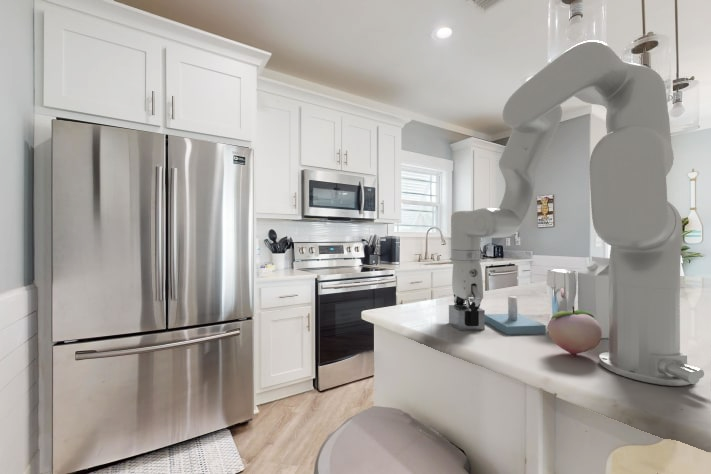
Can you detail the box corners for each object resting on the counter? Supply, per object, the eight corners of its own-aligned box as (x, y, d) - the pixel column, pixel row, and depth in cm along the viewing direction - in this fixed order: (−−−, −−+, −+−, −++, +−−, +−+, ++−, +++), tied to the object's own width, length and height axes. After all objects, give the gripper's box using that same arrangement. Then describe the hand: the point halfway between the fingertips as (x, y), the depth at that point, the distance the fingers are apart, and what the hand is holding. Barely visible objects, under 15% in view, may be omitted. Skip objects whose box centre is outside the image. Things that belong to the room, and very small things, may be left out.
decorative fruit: (577, 367, 59) (576, 313, 59) (541, 351, 67) (539, 304, 67) (614, 359, 62) (613, 308, 61) (575, 346, 69) (573, 300, 69)
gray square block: (484, 329, 82) (484, 310, 82) (458, 330, 82) (458, 311, 82) (473, 322, 89) (472, 304, 89) (448, 322, 89) (448, 305, 89)
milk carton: (607, 330, 81) (606, 256, 81) (628, 339, 74) (628, 258, 74) (577, 329, 82) (577, 256, 81) (595, 338, 74) (595, 258, 74)
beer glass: (540, 325, 86) (540, 270, 86) (557, 321, 89) (556, 268, 89) (567, 332, 80) (566, 272, 80) (583, 328, 83) (583, 271, 83)
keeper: (545, 333, 79) (545, 301, 79) (507, 334, 78) (506, 302, 78) (517, 320, 91) (517, 292, 91) (484, 321, 90) (484, 293, 90)
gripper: (495, 258, 77) (495, 331, 77) (465, 254, 95) (466, 313, 95) (465, 259, 77) (465, 332, 77) (441, 254, 94) (441, 314, 94)
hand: (466, 321), depth 86 cm, fingers closed on gray square block, 7 cm apart
